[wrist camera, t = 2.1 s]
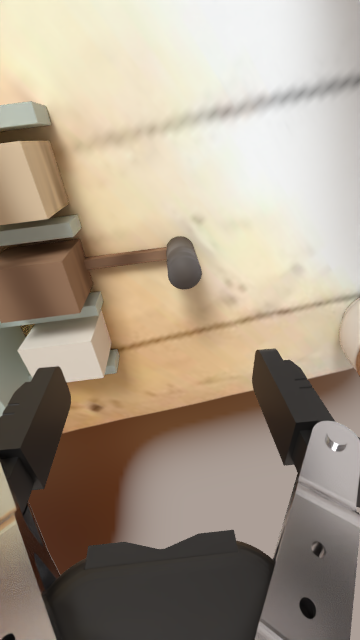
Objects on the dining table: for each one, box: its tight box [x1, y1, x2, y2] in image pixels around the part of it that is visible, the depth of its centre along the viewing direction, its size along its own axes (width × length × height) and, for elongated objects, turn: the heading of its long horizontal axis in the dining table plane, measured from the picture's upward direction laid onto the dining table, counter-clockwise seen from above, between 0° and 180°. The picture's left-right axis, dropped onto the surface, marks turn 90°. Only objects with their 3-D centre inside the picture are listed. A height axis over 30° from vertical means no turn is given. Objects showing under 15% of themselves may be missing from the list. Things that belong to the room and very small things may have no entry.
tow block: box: [0, 236, 202, 323], centre depth 26 cm, size 18×5×6 cm, turn 96°
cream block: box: [17, 310, 111, 382], centre depth 30 cm, size 7×5×6 cm
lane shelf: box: [0, 101, 120, 417], centre depth 25 cm, size 11×25×8 cm, turn 6°
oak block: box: [0, 141, 69, 225], centre depth 21 cm, size 7×5×6 cm
